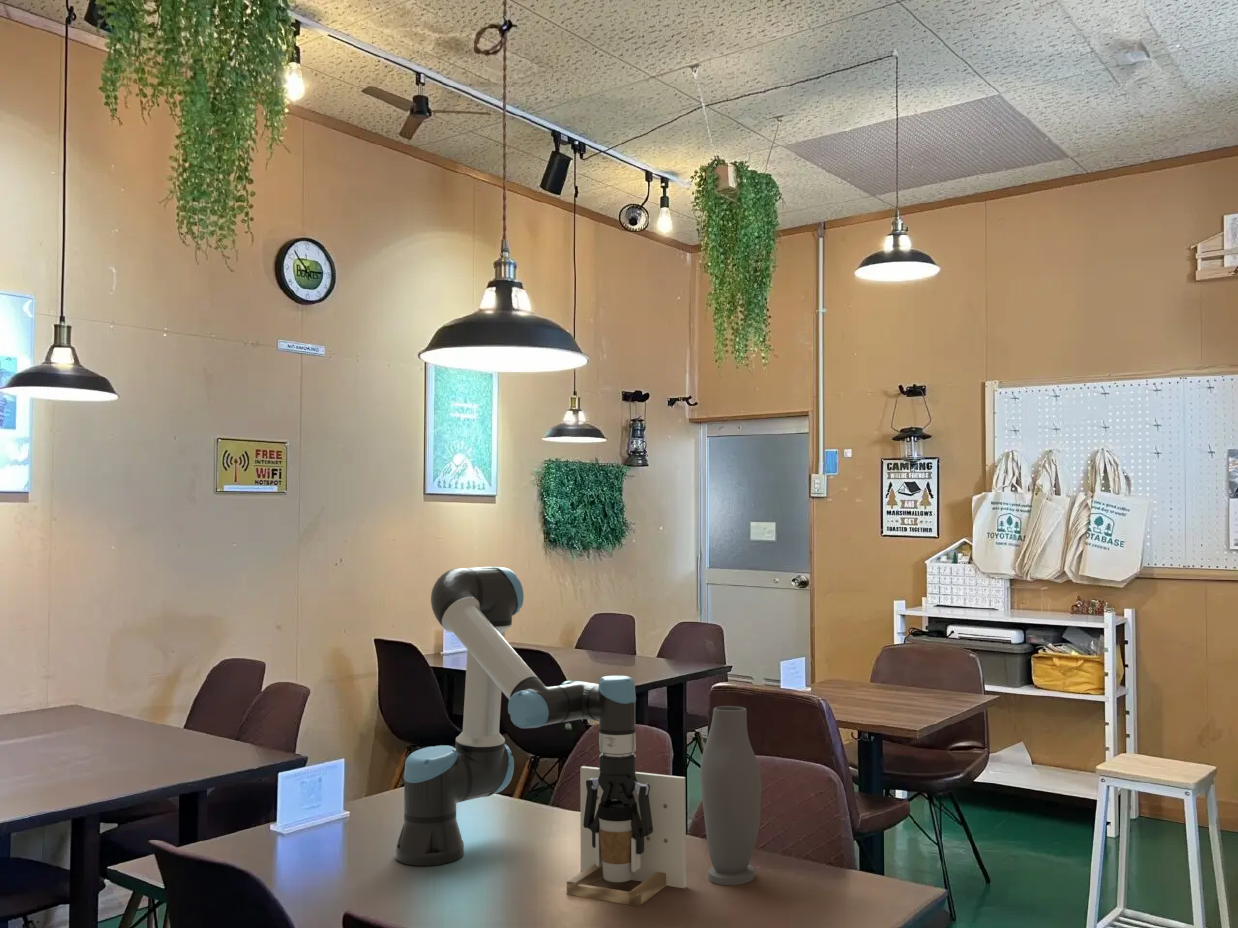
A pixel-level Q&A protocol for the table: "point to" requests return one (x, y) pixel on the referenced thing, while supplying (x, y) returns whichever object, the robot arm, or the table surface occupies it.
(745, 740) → the vase
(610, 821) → the coffee cup
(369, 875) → the table surface
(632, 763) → the robot arm
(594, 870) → the wooden tray
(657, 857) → the wall board
